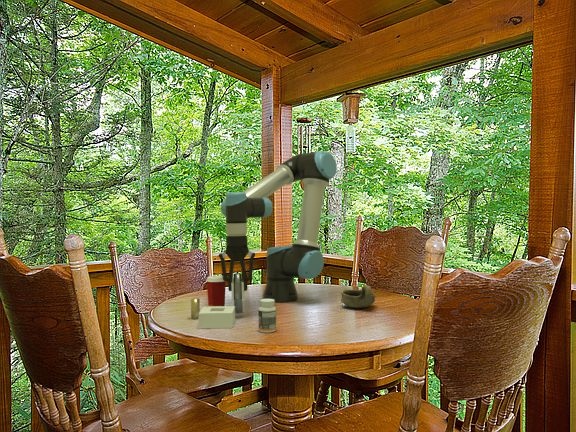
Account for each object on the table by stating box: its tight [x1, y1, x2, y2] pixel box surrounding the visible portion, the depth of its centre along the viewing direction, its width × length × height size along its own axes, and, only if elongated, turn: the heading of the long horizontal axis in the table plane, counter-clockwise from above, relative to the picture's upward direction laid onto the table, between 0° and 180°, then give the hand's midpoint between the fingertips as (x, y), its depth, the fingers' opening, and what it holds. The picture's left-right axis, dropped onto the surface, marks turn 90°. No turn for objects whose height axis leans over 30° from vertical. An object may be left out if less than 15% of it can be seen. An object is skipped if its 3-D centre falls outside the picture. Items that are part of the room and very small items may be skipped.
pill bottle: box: [257, 298, 277, 334], centre depth 147 cm, size 6×6×10 cm
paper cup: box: [205, 275, 227, 306], centre depth 171 cm, size 8×8×14 cm
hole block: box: [198, 305, 236, 330], centre depth 156 cm, size 11×11×5 cm
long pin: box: [233, 272, 244, 314], centre depth 165 cm, size 3×3×14 cm
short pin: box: [190, 297, 201, 320], centre depth 164 cm, size 3×3×7 cm
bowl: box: [340, 285, 376, 309], centre depth 179 cm, size 14×18×10 cm
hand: (238, 299), depth 165 cm, fingers closed on long pin, 3 cm apart
